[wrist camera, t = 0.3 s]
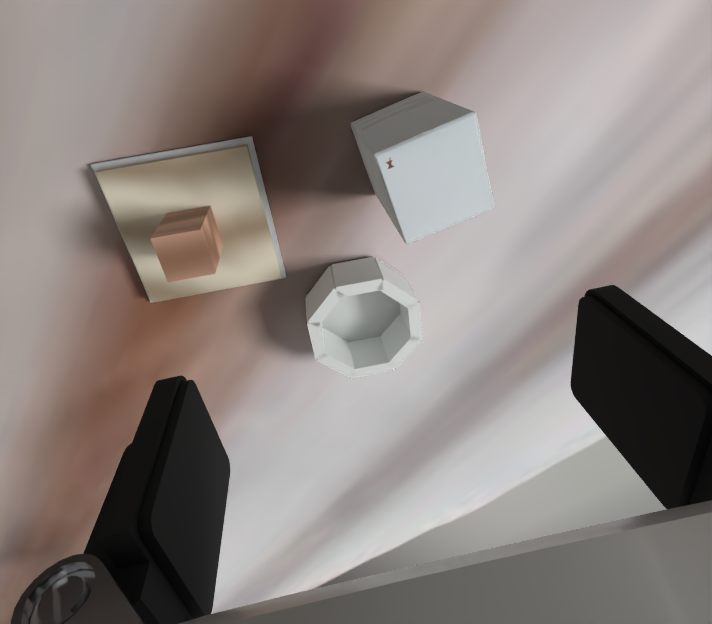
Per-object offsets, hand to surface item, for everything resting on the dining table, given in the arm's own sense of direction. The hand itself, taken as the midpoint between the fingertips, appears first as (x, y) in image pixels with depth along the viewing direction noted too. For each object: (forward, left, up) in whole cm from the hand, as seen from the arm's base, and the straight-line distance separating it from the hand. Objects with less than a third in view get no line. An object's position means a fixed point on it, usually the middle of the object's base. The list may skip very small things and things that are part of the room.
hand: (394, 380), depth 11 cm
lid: (+7, -13, -35) cm, 38 cm away
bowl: (+19, +1, -35) cm, 40 cm away
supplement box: (+3, +7, -35) cm, 36 cm away
